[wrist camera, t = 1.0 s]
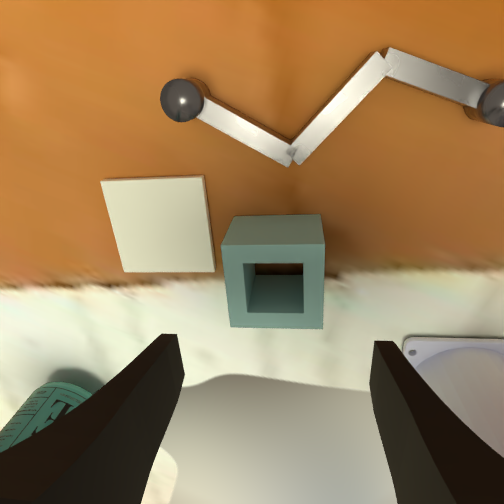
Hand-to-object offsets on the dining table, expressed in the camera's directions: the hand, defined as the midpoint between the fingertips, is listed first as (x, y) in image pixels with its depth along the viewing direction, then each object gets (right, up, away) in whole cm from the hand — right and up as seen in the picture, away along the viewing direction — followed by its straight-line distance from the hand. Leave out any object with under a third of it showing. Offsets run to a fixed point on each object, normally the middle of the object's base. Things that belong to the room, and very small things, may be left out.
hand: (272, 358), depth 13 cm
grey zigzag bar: (+3, +11, +5) cm, 12 cm away
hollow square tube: (+1, +4, +9) cm, 9 cm away
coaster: (-6, +5, +9) cm, 12 cm away
